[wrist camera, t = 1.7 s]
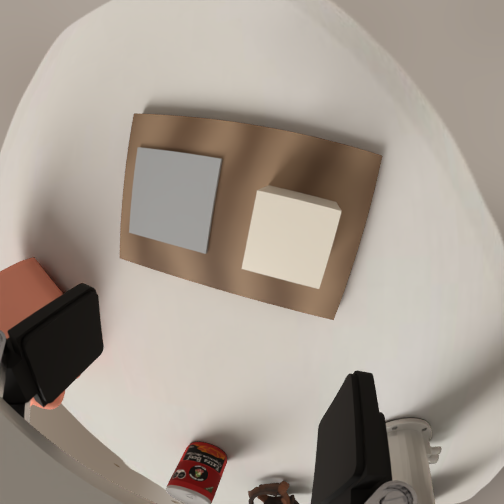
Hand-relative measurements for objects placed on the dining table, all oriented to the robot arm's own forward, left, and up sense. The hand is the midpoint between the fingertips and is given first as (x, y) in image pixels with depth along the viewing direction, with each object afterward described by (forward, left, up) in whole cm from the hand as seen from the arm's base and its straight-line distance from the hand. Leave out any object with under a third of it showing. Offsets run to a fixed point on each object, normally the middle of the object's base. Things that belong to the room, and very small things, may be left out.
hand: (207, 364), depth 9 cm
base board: (+5, -1, -19) cm, 20 cm away
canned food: (+3, +42, -19) cm, 46 cm away
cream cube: (-1, -1, -18) cm, 18 cm away
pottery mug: (-13, +50, -19) cm, 55 cm away
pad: (+11, -1, -18) cm, 21 cm away
